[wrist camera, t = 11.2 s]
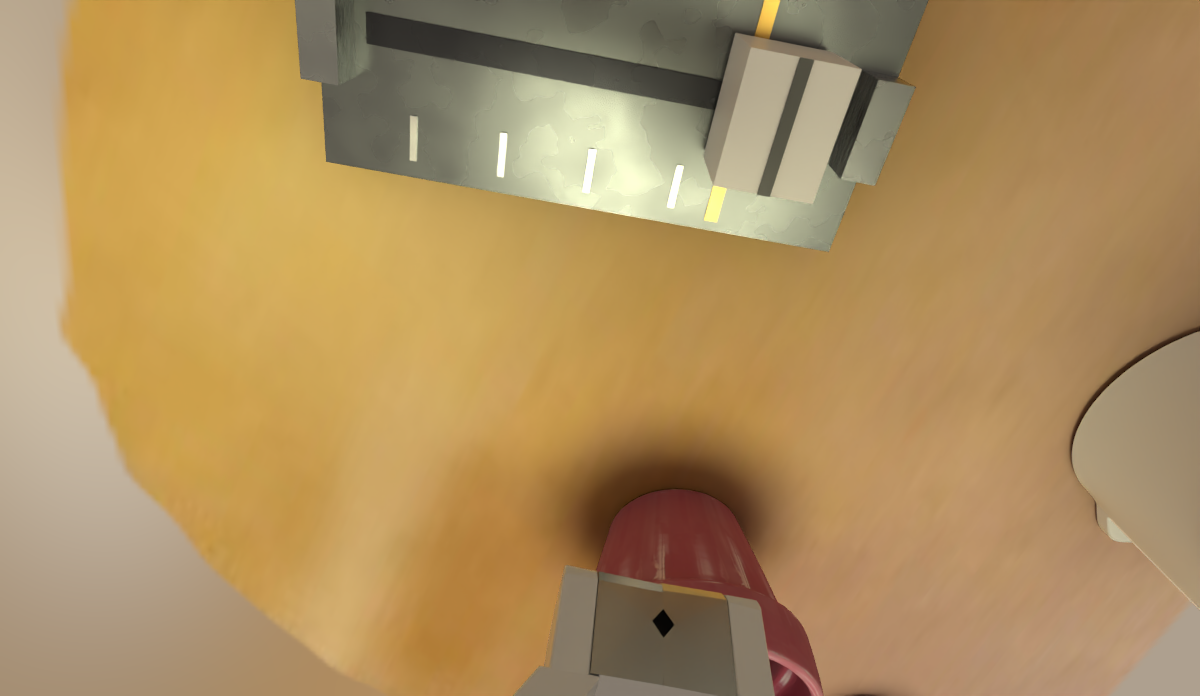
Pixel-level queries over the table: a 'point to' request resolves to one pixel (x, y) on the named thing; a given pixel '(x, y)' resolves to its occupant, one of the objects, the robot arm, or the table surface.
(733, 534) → the plant pot
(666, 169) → the fader console
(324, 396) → the table surface
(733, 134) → the fader knob
